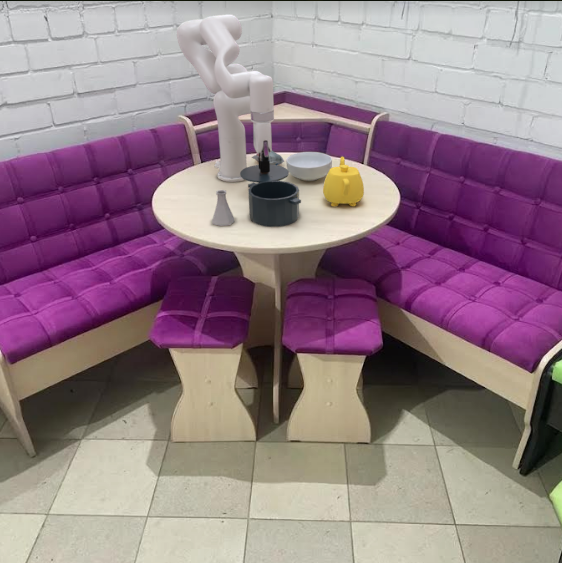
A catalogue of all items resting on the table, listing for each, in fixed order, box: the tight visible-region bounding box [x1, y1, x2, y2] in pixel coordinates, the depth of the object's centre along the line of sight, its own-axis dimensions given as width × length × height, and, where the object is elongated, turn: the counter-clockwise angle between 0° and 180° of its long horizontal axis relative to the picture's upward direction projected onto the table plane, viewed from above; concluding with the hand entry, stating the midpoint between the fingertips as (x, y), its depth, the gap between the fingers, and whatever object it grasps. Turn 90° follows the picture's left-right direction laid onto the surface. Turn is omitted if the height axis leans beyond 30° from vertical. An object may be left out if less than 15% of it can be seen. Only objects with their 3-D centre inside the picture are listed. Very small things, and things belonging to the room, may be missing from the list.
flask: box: [211, 189, 235, 227], centre depth 174 cm, size 7×7×10 cm
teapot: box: [322, 156, 365, 207], centre depth 187 cm, size 13×20×12 cm
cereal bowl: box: [285, 151, 333, 182], centre depth 207 cm, size 17×17×7 cm
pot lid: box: [240, 156, 290, 183], centre depth 191 cm, size 17×17×7 cm
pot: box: [247, 180, 302, 228], centre depth 177 cm, size 16×21×9 cm
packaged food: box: [251, 150, 285, 166], centre depth 220 cm, size 9×12×5 cm
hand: (264, 169), depth 192 cm, fingers closed on pot lid, 2 cm apart
